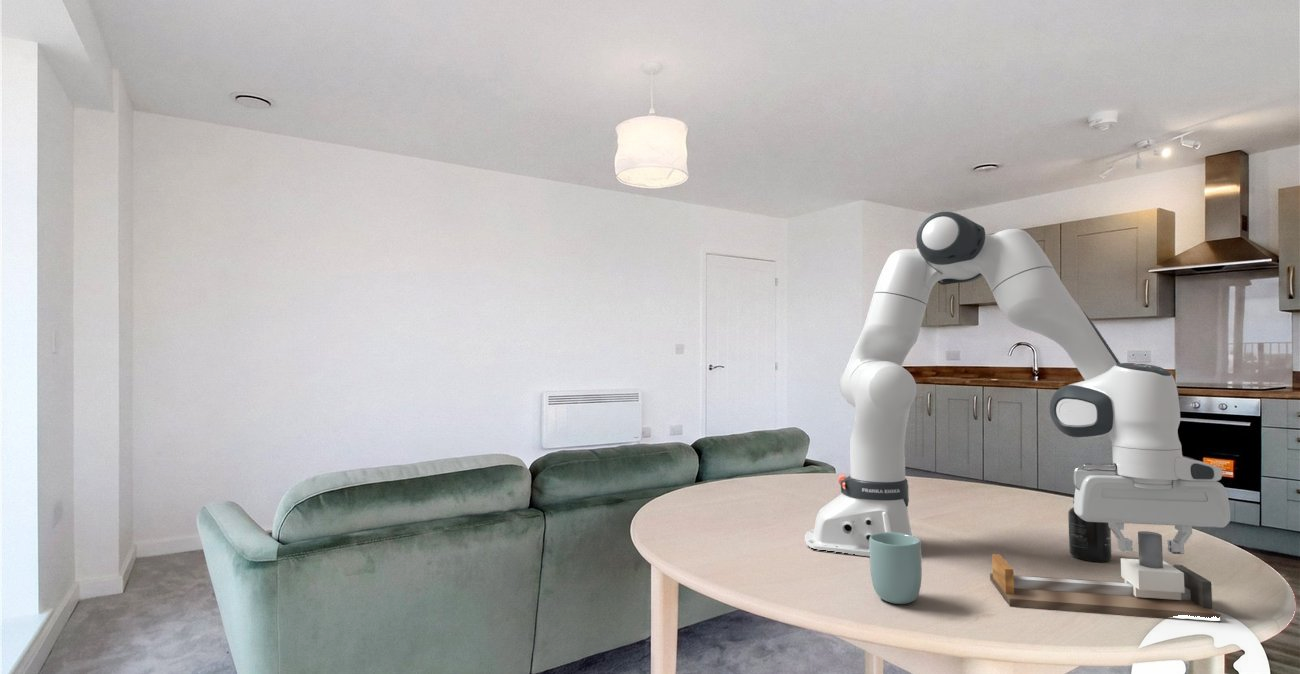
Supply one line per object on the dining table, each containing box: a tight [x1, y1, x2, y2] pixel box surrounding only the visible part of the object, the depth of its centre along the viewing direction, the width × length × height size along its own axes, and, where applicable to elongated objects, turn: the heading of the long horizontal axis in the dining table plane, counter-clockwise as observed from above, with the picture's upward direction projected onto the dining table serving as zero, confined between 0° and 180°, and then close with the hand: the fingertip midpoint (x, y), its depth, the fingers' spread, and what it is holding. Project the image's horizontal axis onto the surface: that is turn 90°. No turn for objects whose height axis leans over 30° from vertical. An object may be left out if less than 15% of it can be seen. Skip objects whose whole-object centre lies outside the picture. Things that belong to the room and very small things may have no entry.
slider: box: [1120, 530, 1185, 600], centre depth 101 cm, size 6×6×10 cm
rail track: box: [989, 553, 1222, 619], centre depth 103 cm, size 28×12×5 cm, turn 75°
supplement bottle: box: [1067, 493, 1113, 563], centre depth 124 cm, size 7×7×12 cm
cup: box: [869, 532, 923, 605], centre depth 104 cm, size 8×8×10 cm
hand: (1150, 551), depth 101 cm, fingers open, 5 cm apart
